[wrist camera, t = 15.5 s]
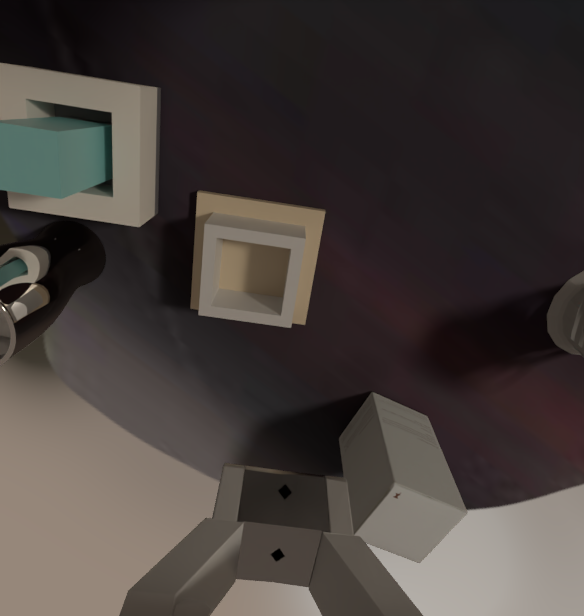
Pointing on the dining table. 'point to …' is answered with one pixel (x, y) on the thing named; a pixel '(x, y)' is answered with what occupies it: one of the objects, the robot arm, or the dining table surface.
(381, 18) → the dining table surface
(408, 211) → the dining table surface
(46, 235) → the beer glass
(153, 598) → the robot arm
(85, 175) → the plug
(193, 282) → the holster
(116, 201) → the port block
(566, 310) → the french press
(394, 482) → the supplement box
